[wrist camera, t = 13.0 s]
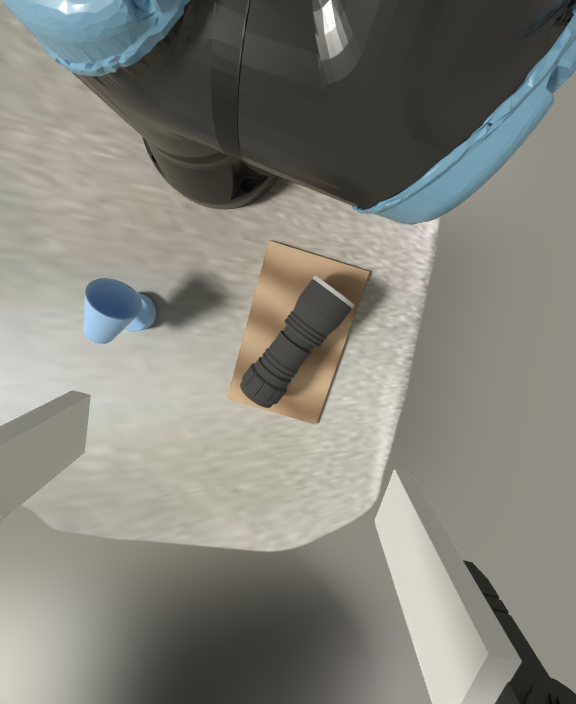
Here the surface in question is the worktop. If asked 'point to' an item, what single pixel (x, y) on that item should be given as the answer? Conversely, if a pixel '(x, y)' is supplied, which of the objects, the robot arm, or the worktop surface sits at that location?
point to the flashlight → (295, 342)
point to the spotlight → (115, 310)
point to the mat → (269, 320)
